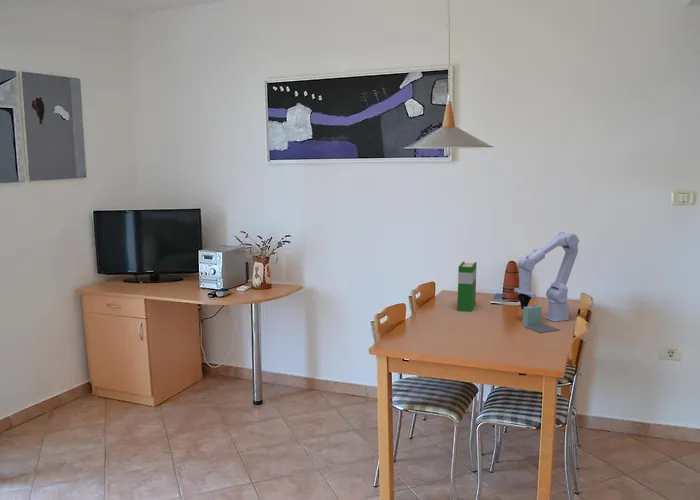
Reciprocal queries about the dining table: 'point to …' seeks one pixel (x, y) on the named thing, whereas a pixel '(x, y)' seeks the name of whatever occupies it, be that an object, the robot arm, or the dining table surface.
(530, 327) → the mat
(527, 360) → the dining table surface
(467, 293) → the hardback book
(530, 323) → the slab
